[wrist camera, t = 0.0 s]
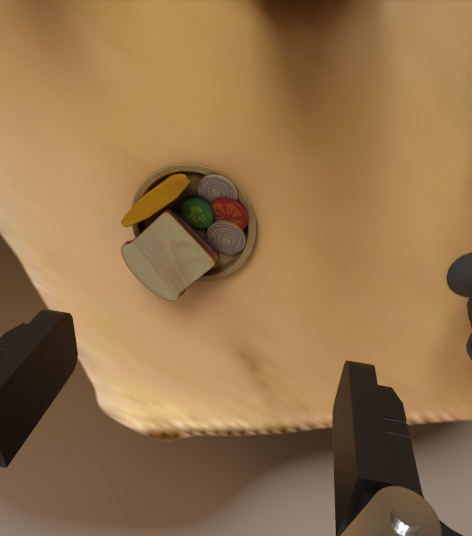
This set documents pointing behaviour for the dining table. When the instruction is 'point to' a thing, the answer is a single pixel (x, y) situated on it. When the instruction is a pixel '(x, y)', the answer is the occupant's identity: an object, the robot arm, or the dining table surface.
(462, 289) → the sundae
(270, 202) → the dining table surface
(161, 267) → the toy sandwich meal
